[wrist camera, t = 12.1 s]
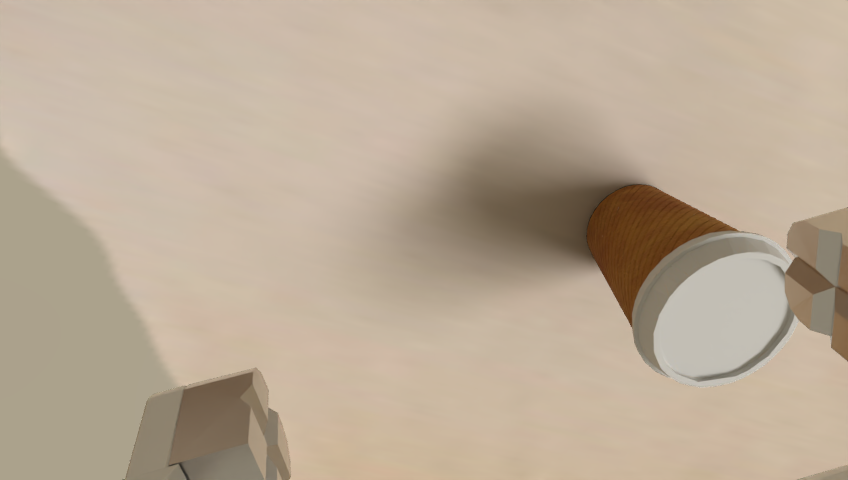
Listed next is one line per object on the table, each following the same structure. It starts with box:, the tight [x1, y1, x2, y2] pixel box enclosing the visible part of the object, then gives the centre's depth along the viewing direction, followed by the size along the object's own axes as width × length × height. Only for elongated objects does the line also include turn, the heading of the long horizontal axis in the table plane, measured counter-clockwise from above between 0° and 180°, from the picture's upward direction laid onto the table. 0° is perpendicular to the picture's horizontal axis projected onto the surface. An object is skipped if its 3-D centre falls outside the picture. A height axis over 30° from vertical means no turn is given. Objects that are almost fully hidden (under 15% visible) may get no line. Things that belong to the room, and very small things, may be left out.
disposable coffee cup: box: [587, 185, 799, 387], centre depth 42 cm, size 10×10×12 cm
